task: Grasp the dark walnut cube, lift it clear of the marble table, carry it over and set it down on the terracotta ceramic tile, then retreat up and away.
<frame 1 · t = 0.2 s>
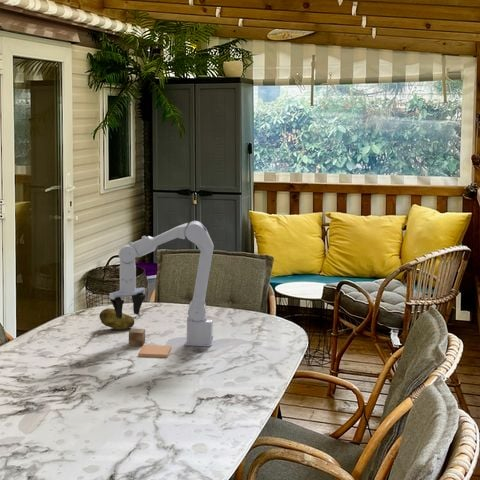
hand: (127, 315, 268), 10 cm above the table, fingers open, 7 cm apart
olive green oval piece: (116, 329, 285), on the table
walnut cube: (136, 344, 267), on the table
terracotta tile: (155, 352, 258), on the table
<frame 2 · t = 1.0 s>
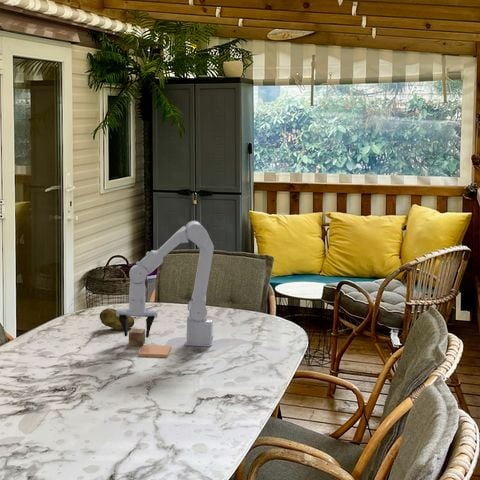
hand: (136, 336, 266), 3 cm above the table, fingers open, 7 cm apart
nothing on the table moved.
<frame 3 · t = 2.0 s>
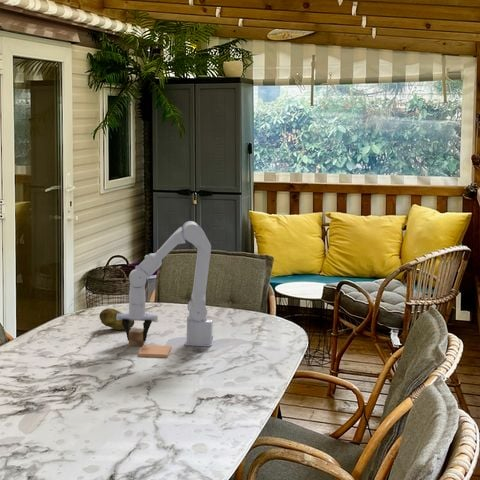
hand: (136, 340, 267), 1 cm above the table, fingers closed on walnut cube, 5 cm apart
walnut cube: (136, 343, 267), on the table, touching gripper
everything else where it was.
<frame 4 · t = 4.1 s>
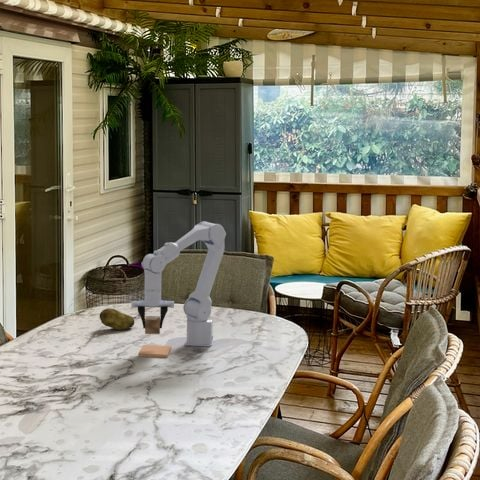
hand: (152, 327, 258), 8 cm above the table, fingers closed on walnut cube, 5 cm apart
walnut cube: (152, 331, 258), point 7 cm above the table, touching gripper
everything else where it was.
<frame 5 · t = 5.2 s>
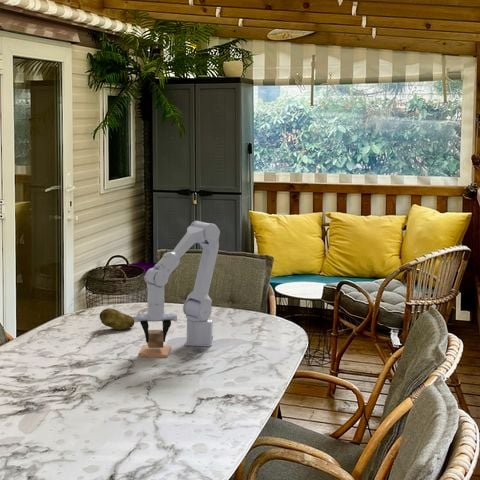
hand: (155, 341, 257), 4 cm above the table, fingers closed on walnut cube, 5 cm apart
walnut cube: (155, 345, 257), point 2 cm above the table, touching gripper
everything else where it was.
when the fingers open (4 cm above the table, at t = 6.0 s): walnut cube drops 1 cm, resting on terracotta tile.
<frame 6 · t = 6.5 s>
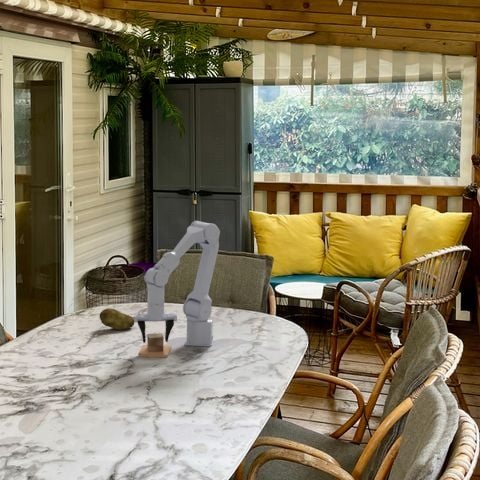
hand: (155, 341, 257), 4 cm above the table, fingers open, 7 cm apart
walnut cube: (155, 349, 257), point 1 cm above the table, touching terracotta tile
everything else where it was.
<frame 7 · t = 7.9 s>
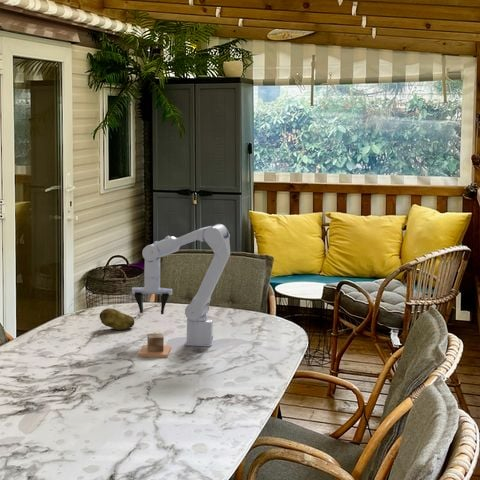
hand: (151, 313, 273), 9 cm above the table, fingers open, 7 cm apart
nothing on the table moved.
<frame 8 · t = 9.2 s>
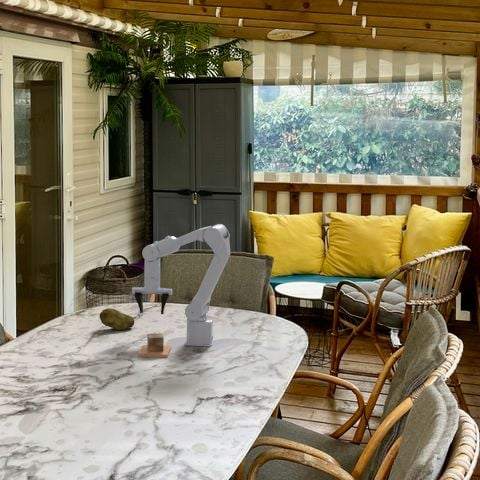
hand: (151, 313, 273), 9 cm above the table, fingers open, 7 cm apart
nothing on the table moved.
at the end: walnut cube inside the target area on the terracotta tile (0.0 cm from its centre), point 1.0 cm above the terracotta tile's base; walnut cube tilted 0°; the gripper is holding nothing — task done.
